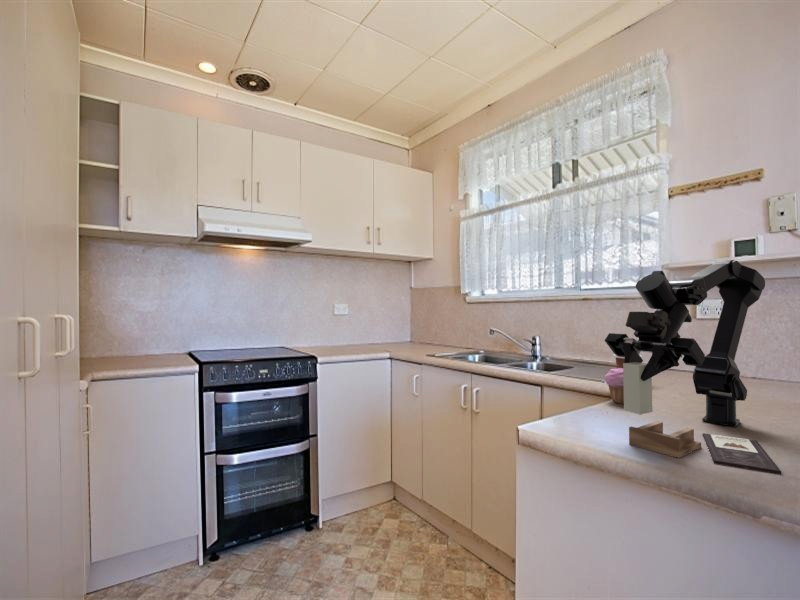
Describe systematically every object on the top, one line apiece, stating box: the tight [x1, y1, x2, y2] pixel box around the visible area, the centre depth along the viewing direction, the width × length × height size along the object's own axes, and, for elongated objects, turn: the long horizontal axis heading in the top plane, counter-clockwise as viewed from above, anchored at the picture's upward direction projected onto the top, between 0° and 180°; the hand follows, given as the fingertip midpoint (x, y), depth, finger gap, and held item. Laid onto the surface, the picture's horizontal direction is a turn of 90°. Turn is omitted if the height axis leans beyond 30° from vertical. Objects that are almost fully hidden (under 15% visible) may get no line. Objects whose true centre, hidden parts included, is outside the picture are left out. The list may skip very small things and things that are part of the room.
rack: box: [628, 420, 702, 459], centre depth 81 cm, size 10×9×4 cm
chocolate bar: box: [702, 432, 782, 475], centre depth 77 cm, size 9×1×18 cm
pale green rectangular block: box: [623, 362, 653, 415], centre depth 84 cm, size 4×4×10 cm
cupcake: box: [604, 368, 624, 405], centre depth 118 cm, size 9×9×10 cm
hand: (633, 378), depth 84 cm, fingers closed on pale green rectangular block, 3 cm apart
